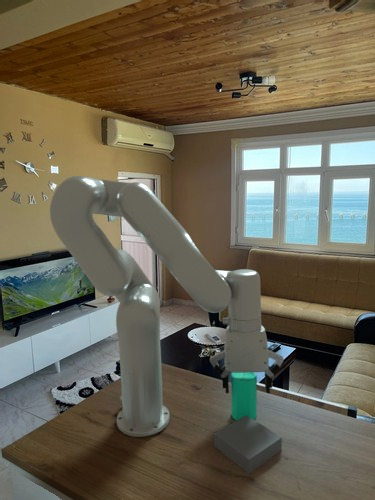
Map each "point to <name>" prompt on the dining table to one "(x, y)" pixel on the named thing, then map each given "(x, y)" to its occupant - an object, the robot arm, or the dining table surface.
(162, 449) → the dining table surface
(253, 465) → the plinth
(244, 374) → the candle
